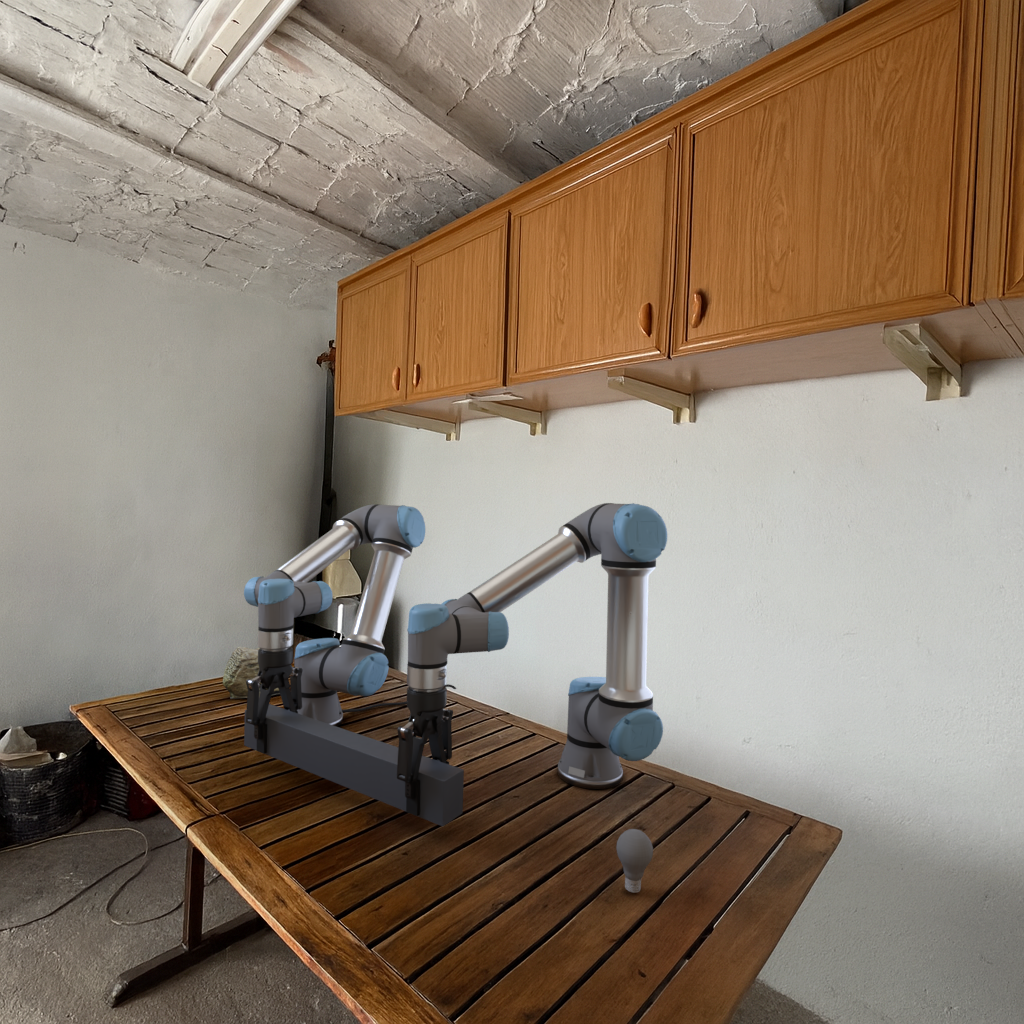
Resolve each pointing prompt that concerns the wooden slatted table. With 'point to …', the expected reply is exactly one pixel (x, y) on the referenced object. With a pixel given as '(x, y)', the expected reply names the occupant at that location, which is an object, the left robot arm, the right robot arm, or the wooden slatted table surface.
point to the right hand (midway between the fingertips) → (424, 805)
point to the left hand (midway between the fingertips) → (274, 746)
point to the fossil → (242, 672)
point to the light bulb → (634, 857)
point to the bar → (359, 763)
